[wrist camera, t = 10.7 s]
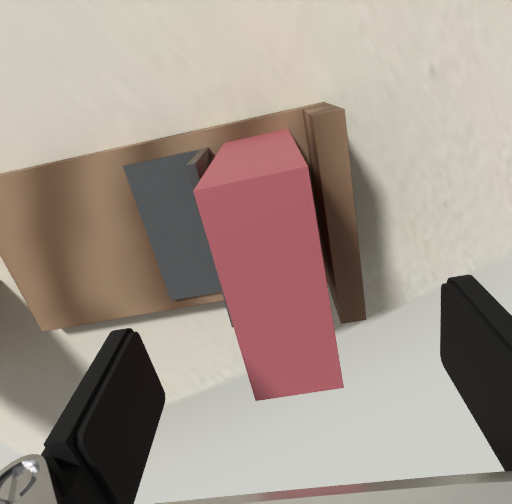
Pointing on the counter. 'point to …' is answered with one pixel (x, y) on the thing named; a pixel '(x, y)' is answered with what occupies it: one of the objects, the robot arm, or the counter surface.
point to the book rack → (133, 231)
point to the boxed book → (271, 264)
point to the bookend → (176, 221)
